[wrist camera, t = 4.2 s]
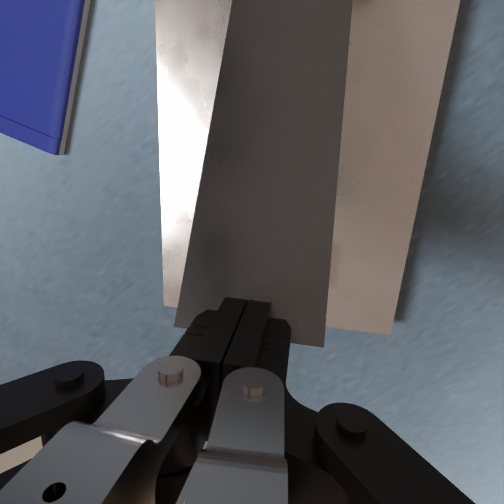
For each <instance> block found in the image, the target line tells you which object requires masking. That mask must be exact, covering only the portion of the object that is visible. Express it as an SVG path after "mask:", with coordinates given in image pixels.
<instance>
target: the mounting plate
mask: <svg viewBox="0 0 504 504" xmlns="http://www.w3.org/2000/svg"><path fill="white" fill-rule="evenodd" d="M459 4H460V0H353V3H352V15H351V27H350V39H349V51H348V63H347V75H346V87H345V99H344V111H343V123H342V134H341V146H340V158H339V170H338V182H337V194H336V206H335V218H334V230H333V242H332V254H331V266H330V278H329V290H328V302H327V314H326V326H325V327H333V328H340V329H348V330H356V331H363V332H371V333H379V334H387V335H391V331H392V326H393V321H394V316H395V311H396V307H397V302H398V297H399V292H400V287H401V283H402V278H403V273H404V268H405V263H406V259H407V254H408V249H409V244H410V239H411V235H412V230H413V225H414V220H415V215H416V211H417V206H418V201H419V196H420V191H421V187H422V182H423V177H424V172H425V167H426V163H427V158H428V153H429V148H430V143H431V139H432V134H433V129H434V124H435V119H436V115H437V110H438V105H439V100H440V95H441V91H442V86H443V81H444V76H445V72H446V67H447V62H448V57H449V52H450V48H451V43H452V38H453V33H454V28H455V24H456V19H457V14H458V9H459ZM231 5H232V0H155V17H156V51H157V85H158V119H159V153H160V187H161V221H162V255H163V289H164V306H171V307H178V302H179V296H180V291H181V285H182V279H183V274H184V268H185V263H186V257H187V251H188V246H189V240H190V235H191V229H192V223H193V218H194V212H195V206H196V201H197V195H198V190H199V184H200V178H201V173H202V167H203V162H204V156H205V150H206V145H207V139H208V134H209V128H210V122H211V117H212V111H213V106H214V100H215V94H216V89H217V83H218V78H219V72H220V66H221V61H222V55H223V49H224V44H225V38H226V33H227V27H228V21H229V16H230V10H231Z"/></svg>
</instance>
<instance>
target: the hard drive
mask: <svg viewBox="0 0 504 504" xmlns="http://www.w3.org/2000/svg"><path fill="white" fill-rule="evenodd" d="M90 2H91V0H0V133H3V134H5V135H7V136H10V137H12V138H15V139H17V140H19V141H22V142H24V143H27V144H29V145H31V146H34V147H36V148H38V149H41V150H43V151H46V152H48V153H51V154H54V155H64V151H65V145H66V140H67V135H68V129H69V123H70V118H71V112H72V106H73V100H74V94H75V89H76V83H77V77H78V71H79V66H80V60H81V54H82V48H83V42H84V36H85V31H86V25H87V19H88V13H89V7H90Z"/></svg>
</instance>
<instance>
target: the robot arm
mask: <svg viewBox="0 0 504 504" xmlns="http://www.w3.org/2000/svg"><path fill="white" fill-rule="evenodd" d="M290 338H291V327H290V326H289V324H288V322H287V321H286V320H285V319H278V318H271V302H264V301H256V300H249V301H248V300H247V299H239V298H231V297H225V298H224V300H223V301H222V303H221V305H220V307H219V309H218V310H217V311H216V310H208V309H207V310H206V311H204V312H202V313H200V314H199V315H197V316H196V317H195V318H194V320H193V321H192V323H191V324H190V327H188V329H187V330H186V332H185V334H184V335H183V336H182V338H181V339H180V341H179V342H178V344H177V345H176V347H175V348H174V349H173V351H172V352H171V354H170V355H169V356H166V357H161V358H158V359H156V360H153V361H151V362H150V363H148V364H147V365H146V366H145V367H144V368H143V369H142V370H141V371H140V372H139V373H138V374H137V376H136V377H135V378H132V379H120V380H106V381H105V378H104V370H103V368H102V367H101V366H100V365H99V364H97V363H94V362H91V361H72V362H67V363H63V364H60V365H57V366H54V367H51V368H48V369H45V370H43V371H40V372H37V373H34V374H31V375H28V376H25V377H22V378H19V379H16V380H13V381H11V382H8V383H5V384H2V385H0V454H2V453H4V452H6V451H8V450H10V449H13V448H15V447H17V446H19V445H22V444H24V443H26V442H28V441H30V440H33V439H35V438H37V437H39V436H41V438H42V445H43V448H42V449H41V450H40V451H39V452H38V453H37V454H36V455H35V456H34V457H33V458H32V459H30V460H28V461H26V462H24V463H22V464H20V465H18V466H15V467H13V468H11V469H9V470H7V471H5V472H3V473H1V474H0V504H475V503H474V502H473V501H472V500H471V499H469V498H468V497H467V496H466V495H465V494H464V493H463V492H461V491H460V490H459V489H458V488H457V487H456V486H455V485H453V484H452V483H451V482H450V481H449V480H448V479H447V478H446V477H444V476H443V475H442V474H441V473H440V472H439V471H438V470H436V469H435V468H434V467H433V466H432V465H431V464H430V463H429V462H427V461H426V460H425V459H424V458H423V457H422V456H421V455H419V454H418V453H417V452H416V451H415V450H414V449H413V448H412V447H410V446H409V445H408V444H407V443H406V442H405V441H404V440H402V439H401V438H400V437H399V436H398V435H397V434H396V433H394V432H393V431H392V430H391V429H390V428H389V427H388V426H387V425H385V424H384V423H383V422H382V421H381V420H380V419H379V418H377V417H376V416H375V415H374V414H372V413H371V412H369V411H368V410H366V409H364V408H362V407H360V406H357V405H354V404H349V403H332V404H329V405H327V406H325V407H323V408H322V409H321V410H320V411H319V412H316V411H314V410H311V409H309V408H307V407H305V406H303V405H302V404H300V403H298V402H297V401H296V400H295V399H294V398H293V397H292V396H291V395H290V393H289V392H288V390H287V388H286V377H287V367H288V358H289V348H290ZM205 441H208V443H207V447H206V450H205V449H203V447H204V444H205ZM184 502H185V503H184Z"/></svg>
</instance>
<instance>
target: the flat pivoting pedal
mask: <svg viewBox="0 0 504 504" xmlns="http://www.w3.org/2000/svg"><path fill="white" fill-rule="evenodd" d="M352 3H353V0H232V5H231V10H230V16H229V21H228V27H227V33H226V38H225V44H224V49H223V55H222V61H221V66H220V72H219V78H218V83H217V89H216V94H215V100H214V106H213V111H212V117H211V122H210V128H209V134H208V139H207V145H206V150H205V156H204V162H203V167H202V173H201V178H200V184H199V190H198V195H197V201H196V206H195V212H194V218H193V223H192V229H191V235H190V240H189V246H188V251H187V257H186V263H185V268H184V274H183V279H182V285H181V291H180V296H179V302H178V307H177V313H176V319H175V324H174V327H179V328H187V329H188V327H190V324H191V323H192V321H193V320H194V318H195V317H196V316H197V315H199V314H200V313H202V312H204V311H206V310H207V309H208V310H216V311H217V310H218V309H219V307H220V305H221V303H222V301H223V300H224V298H225V297H231V298H239V299H247V300H248V301H249V300H256V301H264V302H271V318H278V319H285V320H286V321H287V322H288V324H289V326H290V327H291V338H290V343H296V344H303V345H310V346H317V347H324V338H325V326H326V314H327V302H328V290H329V278H330V266H331V254H332V242H333V230H334V218H335V206H336V194H337V182H338V170H339V158H340V146H341V134H342V123H343V111H344V99H345V87H346V75H347V63H348V51H349V39H350V27H351V15H352Z"/></svg>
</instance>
